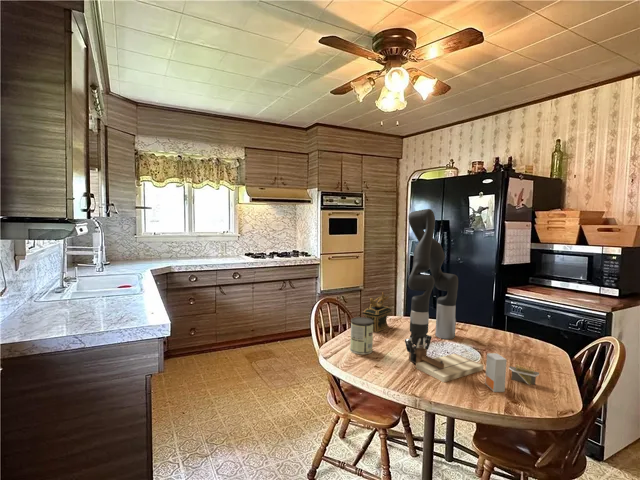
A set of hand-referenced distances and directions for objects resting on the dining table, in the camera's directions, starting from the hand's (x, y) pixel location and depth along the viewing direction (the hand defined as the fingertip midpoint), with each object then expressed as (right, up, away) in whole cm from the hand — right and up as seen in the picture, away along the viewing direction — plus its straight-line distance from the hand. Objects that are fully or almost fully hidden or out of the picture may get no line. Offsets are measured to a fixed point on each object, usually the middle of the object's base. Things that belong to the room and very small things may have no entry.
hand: (417, 360), depth 151 cm
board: (+12, -2, -6) cm, 13 cm away
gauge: (+2, -1, -4) cm, 5 cm away
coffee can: (-23, 0, +12) cm, 26 cm away
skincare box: (+22, -3, -21) cm, 31 cm away
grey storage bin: (+36, -4, -16) cm, 39 cm away
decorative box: (-9, +2, +47) cm, 48 cm away
